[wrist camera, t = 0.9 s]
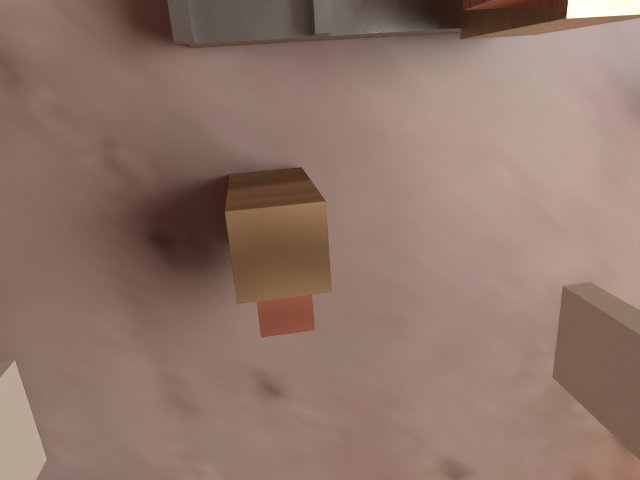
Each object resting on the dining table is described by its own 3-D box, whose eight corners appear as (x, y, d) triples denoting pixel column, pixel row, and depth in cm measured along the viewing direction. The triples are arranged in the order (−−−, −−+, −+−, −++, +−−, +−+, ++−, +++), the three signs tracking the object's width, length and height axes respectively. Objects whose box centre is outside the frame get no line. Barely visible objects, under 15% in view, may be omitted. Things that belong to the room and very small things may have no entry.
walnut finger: (229, 174, 26) (224, 211, 18) (301, 167, 26) (325, 201, 19) (242, 274, 28) (243, 345, 20) (309, 266, 28) (334, 333, 21)
